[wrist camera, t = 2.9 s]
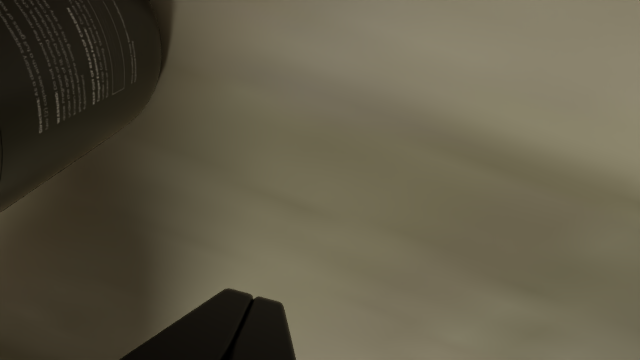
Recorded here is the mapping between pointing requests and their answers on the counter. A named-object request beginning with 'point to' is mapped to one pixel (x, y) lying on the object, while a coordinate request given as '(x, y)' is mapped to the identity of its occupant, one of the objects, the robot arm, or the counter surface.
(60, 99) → the supplement bottle
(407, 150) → the counter surface
